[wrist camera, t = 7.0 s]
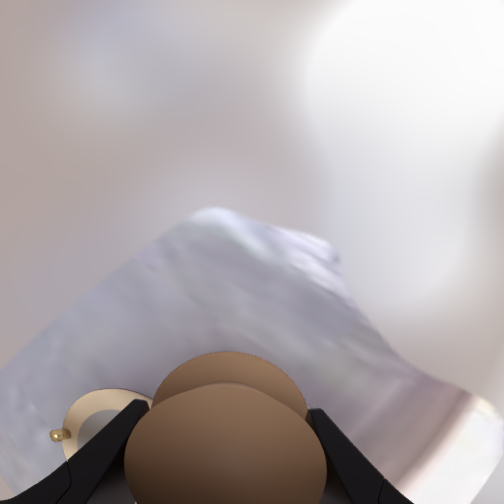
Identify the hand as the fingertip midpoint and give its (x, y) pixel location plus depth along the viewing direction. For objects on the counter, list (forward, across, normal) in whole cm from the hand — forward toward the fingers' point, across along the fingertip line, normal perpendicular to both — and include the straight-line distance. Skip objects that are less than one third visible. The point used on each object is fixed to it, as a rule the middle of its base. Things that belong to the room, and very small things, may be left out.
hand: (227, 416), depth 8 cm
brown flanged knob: (+4, 0, +6) cm, 7 cm away
